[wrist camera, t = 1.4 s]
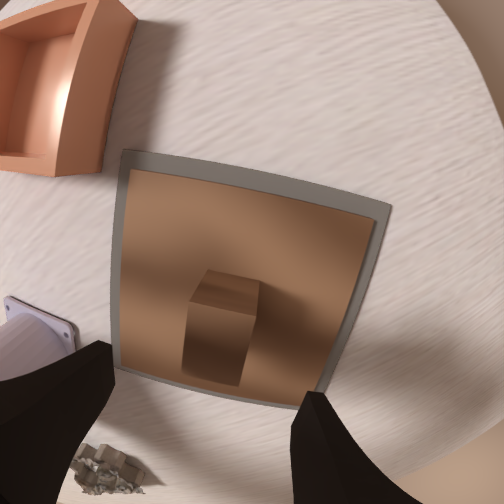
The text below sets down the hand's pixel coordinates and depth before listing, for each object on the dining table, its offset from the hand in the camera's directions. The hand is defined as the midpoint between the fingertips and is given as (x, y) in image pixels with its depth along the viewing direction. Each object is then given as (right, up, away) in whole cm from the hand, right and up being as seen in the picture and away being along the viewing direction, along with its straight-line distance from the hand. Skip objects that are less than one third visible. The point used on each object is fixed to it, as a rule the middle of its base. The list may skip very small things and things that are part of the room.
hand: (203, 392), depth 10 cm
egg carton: (-15, -19, +15) cm, 29 cm away
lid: (0, +2, +7) cm, 8 cm away
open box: (-11, +15, +4) cm, 20 cm away
